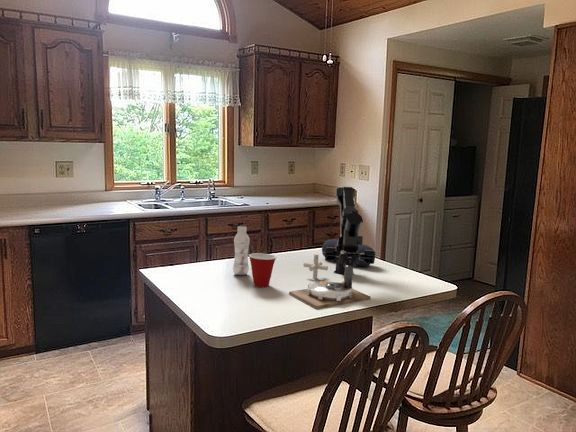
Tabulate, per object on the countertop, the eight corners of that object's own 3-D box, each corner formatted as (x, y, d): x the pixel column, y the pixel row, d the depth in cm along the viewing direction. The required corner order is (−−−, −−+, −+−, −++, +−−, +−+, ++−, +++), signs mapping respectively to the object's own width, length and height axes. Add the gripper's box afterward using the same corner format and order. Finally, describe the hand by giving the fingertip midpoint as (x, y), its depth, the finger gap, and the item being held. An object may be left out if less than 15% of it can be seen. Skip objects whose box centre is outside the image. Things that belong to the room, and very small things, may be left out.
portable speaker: (376, 266, 222) (378, 245, 220) (366, 270, 214) (367, 248, 212) (330, 256, 237) (331, 236, 235) (319, 260, 229) (320, 239, 227)
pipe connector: (330, 277, 200) (332, 253, 198) (322, 283, 191) (323, 258, 189) (308, 273, 204) (309, 250, 202) (298, 279, 195) (300, 255, 193)
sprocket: (315, 302, 164) (317, 273, 162) (300, 287, 180) (301, 261, 178) (361, 299, 169) (363, 271, 167) (342, 285, 185) (343, 259, 183)
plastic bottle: (229, 275, 196) (231, 227, 193) (237, 271, 202) (238, 224, 199) (243, 277, 194) (245, 228, 191) (251, 273, 200) (252, 226, 197)
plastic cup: (280, 284, 187) (282, 254, 185) (266, 291, 178) (267, 259, 176) (257, 279, 192) (258, 250, 190) (241, 286, 183) (242, 255, 181)
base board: (315, 309, 161) (316, 300, 161) (288, 294, 175) (289, 286, 175) (370, 299, 174) (370, 291, 173) (341, 286, 188) (341, 278, 188)
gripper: (326, 226, 182) (323, 261, 172) (376, 229, 179) (375, 265, 170) (326, 242, 190) (323, 277, 181) (374, 245, 188) (373, 280, 179)
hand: (348, 274), depth 178 cm, fingers closed
